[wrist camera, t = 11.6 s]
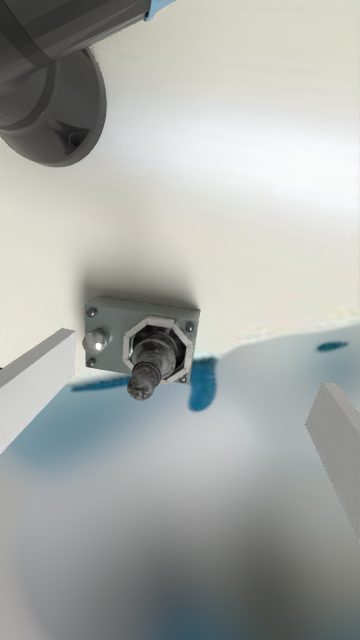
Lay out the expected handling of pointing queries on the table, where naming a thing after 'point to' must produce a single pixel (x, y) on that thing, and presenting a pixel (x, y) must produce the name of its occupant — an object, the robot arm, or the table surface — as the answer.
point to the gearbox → (137, 334)
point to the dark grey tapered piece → (151, 364)
